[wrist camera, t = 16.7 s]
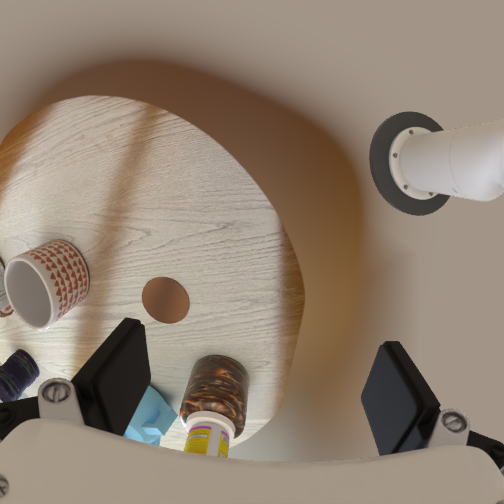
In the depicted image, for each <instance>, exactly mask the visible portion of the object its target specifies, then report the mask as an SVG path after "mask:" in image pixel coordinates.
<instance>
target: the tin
mask: <svg viewBox="0 0 504 504" xmlns="http://www.w3.org/2000/svg"><path fill="white" fill-rule="evenodd" d="M4 273H5V266H4V264H3V262H2V261H1V260H0V317H6V316H9V315H11V314H12V313H13V311H14V310H13V308H12V306H11V304H10V302H9V300H8V297H7V294H6V290H5V284H4Z"/></svg>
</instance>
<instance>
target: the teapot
mask: <svg viewBox="0 0 504 504" xmlns="http://www.w3.org/2000/svg"><path fill="white" fill-rule="evenodd" d="M177 416H178V415H177V414H176V412H175V411H174V410H173V409H172V408H171V407H170V406H169V405H167V403H166V402H165V400H164V399H163V397H162V396H161V395H160V394H159V393H158V392H157V391H156V390H155V389H154V388H153V387H151V386H150V385H149V386H148V388H147V390H146V392H145V394H144V396H143V398H142V400H141V401H140V403H139V405H138V407H137V409H136V411H135V413H134V415H133V417H132V419H131V421H130V423H129V425H128V427H127V429H126V431H125V433H124V435H123V437H126V438H129V439H133V440H136V441H140V442H144V443H148V444H152V445H156V446H159V444H160V437H161V436H162V435H165V433H166V432H167V430H168V429H169V428H170V426H171V425H172V423H173V422H174V420H175V419H176V417H177Z"/></svg>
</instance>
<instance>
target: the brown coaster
mask: <svg viewBox="0 0 504 504" xmlns="http://www.w3.org/2000/svg"><path fill="white" fill-rule="evenodd" d="M142 302H143V305H144V308H145V309H146V311H147V312H148V314H149V315H150V316H151V317H153V318H154V319H155V320H157V321H159V322H162V323H167V324H172V323H176V322H179V321H181V320H182V319H183V318H184V317H185V316H186V314H187V312H188V310H189V297H188V295H187V292H186V291H185V289H184V288H183V287H182V286H181V285H180V284H179V283H178V282H176V281H175V280H173V279H170V278H166V277H158V278H154V279H152V280H151V281H149V282H148V283H147V284H146V285H145V287H144V289H143V292H142Z"/></svg>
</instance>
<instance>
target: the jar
mask: <svg viewBox="0 0 504 504" xmlns="http://www.w3.org/2000/svg"><path fill="white" fill-rule="evenodd" d="M248 386H249V378H248V374H247V372H246V370H245V369H244V367H243V366H242V365H241V364H240V363H238V362H237V361H235V360H233V359H231V358H229V357H225V356H220V355H212V356H207V357H204V358H202V359H200V360H199V361H198V362H197V363H196V364H195V366H194V368H193V370H192V373H191V376H190V379H189V382H188V385H187V388H186V391H185V394H184V397H183V401H182V404H181V408H180V420H181V423H182V425H183V426H184V427H185V430H186V432H187V434H188V432H189V430H190V428H191V427H192V426H193V425H195V424H197V423H203V422H207V423H213V424H216V425H219V426H221V427H223V428H224V429H225V430H226V431H227V432H228V434H229V443H231V442H232V441H233V439H235V438H237V437H238V436H239V435H240V434H241V433H242V431H243V430H244V426H245V421H246V413H247V401H248Z"/></svg>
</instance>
